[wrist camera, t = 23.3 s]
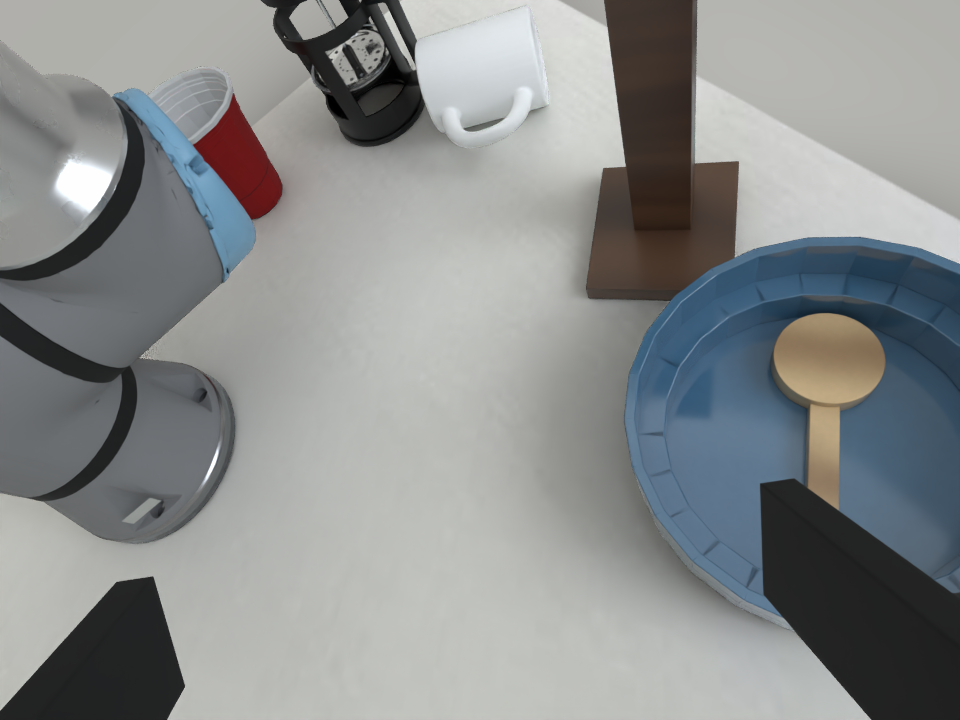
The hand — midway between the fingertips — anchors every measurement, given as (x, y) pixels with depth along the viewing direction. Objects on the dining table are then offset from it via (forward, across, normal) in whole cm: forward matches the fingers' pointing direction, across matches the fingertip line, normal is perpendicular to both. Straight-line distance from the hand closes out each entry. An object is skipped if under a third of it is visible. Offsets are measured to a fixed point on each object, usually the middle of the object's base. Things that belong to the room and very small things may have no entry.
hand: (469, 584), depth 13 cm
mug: (+48, +7, +16) cm, 50 cm away
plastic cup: (+54, -17, +13) cm, 58 cm away
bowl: (+22, +21, -9) cm, 32 cm away
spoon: (+21, +21, -8) cm, 31 cm away
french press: (+54, -3, +19) cm, 58 cm away
